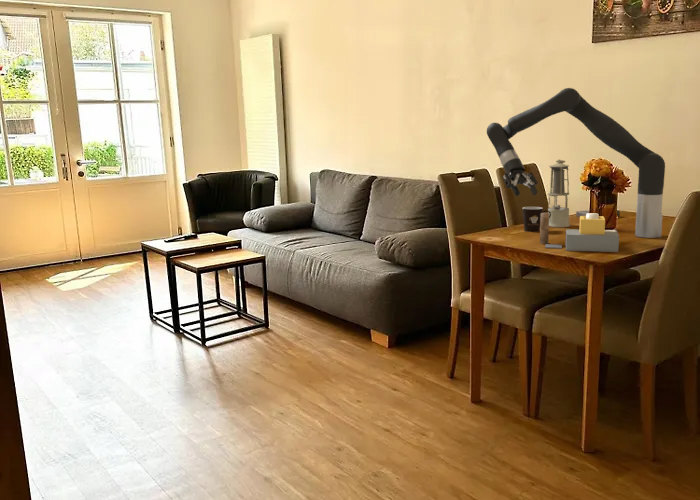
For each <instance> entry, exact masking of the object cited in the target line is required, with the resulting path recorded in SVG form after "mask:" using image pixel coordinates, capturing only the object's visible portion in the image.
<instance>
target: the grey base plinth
mask: <svg viewBox="0 0 700 500" xmlns="http://www.w3.org/2000/svg"><path fill="white" fill-rule="evenodd" d="M605 218H606V217H604V216H599V219H586V216H580V217H579V227H578V228H579V229H578V228H577V229H576V228H575V229H573V228H571V229H569V228H566V229H565V244H564V245H565V251H569V252H570V251H571V252H572V251H573V252H574V251H576V252H602V253H603V252H604V253H605V252H606V253H608V252H609V253H618V252H619V246H620V245H619V244H620V234H619V232H618V230H617V229H605V228H606V219H605Z"/></svg>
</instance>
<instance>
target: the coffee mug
mask: <svg viewBox="0 0 700 500" xmlns="http://www.w3.org/2000/svg"><path fill="white" fill-rule="evenodd" d="M521 210H522V219H523V230H524V232H531V233H534V232H535V233H536V232H537V233H538V232H540V218H541V213H548V212H549V214H550V216H549V218H550V217H551V212H550V211H548V209H547V210H546V209H544V210H543V207H541V206H524V207H522V209H521Z"/></svg>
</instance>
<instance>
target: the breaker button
mask: <svg viewBox="0 0 700 500" xmlns="http://www.w3.org/2000/svg"><path fill="white" fill-rule="evenodd" d="M586 219H599V214H598V213H586Z"/></svg>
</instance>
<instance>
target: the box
mask: <svg viewBox="0 0 700 500" xmlns="http://www.w3.org/2000/svg"><path fill="white" fill-rule="evenodd" d="M589 210H590V209H587V210H577V211H575V215H576V217H577V218H580V216H586V213H589ZM616 210H617V216H616V217H618V216H621V215H620V212H621V211H620V210H619V209H616Z"/></svg>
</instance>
